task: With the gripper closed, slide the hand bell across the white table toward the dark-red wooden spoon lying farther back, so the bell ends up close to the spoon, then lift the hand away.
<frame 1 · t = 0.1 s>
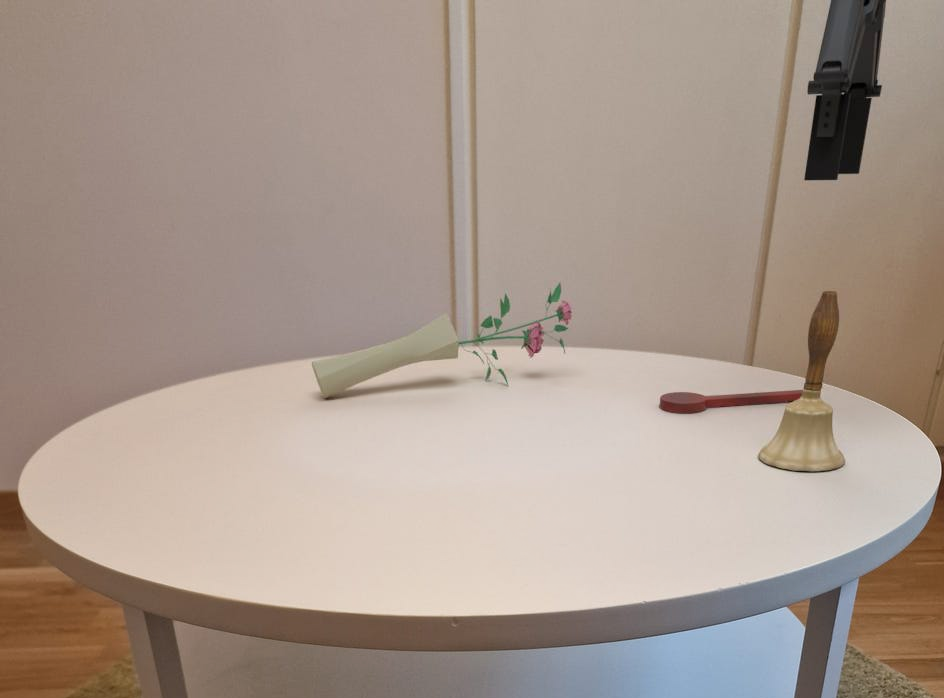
hand: (833, 177, 84), 25 cm above the table, tool pointing down, fingers open, 13 cm apart
hand bell: (800, 461, 89), on the table
flower vase: (444, 388, 121), on the table
spoon: (733, 404, 109), on the table
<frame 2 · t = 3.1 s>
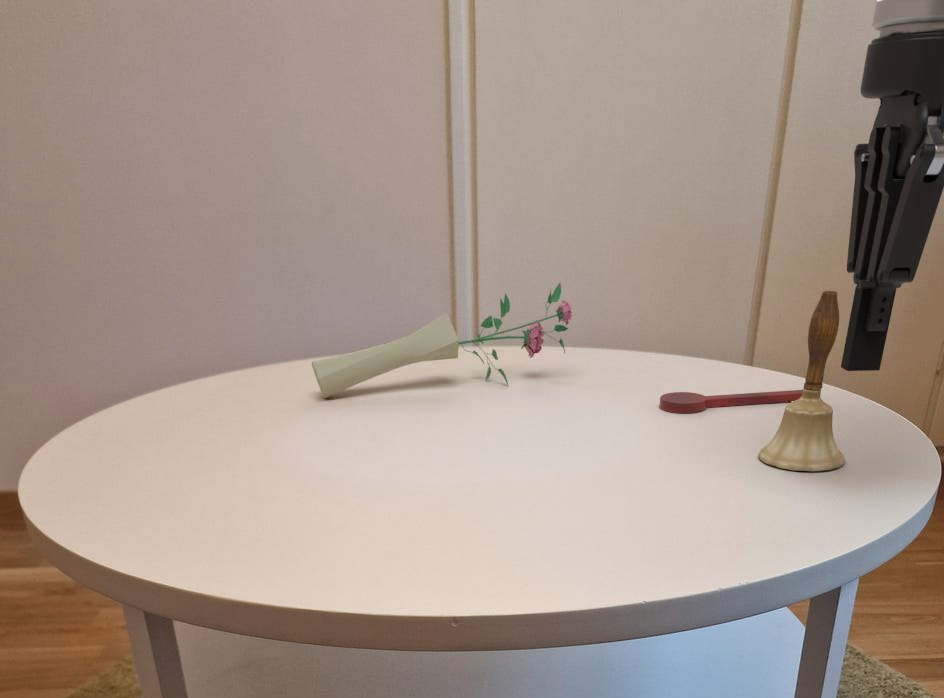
hand: (859, 368, 75), 11 cm above the table, tool pointing down, fingers closed
nothing on the table moved.
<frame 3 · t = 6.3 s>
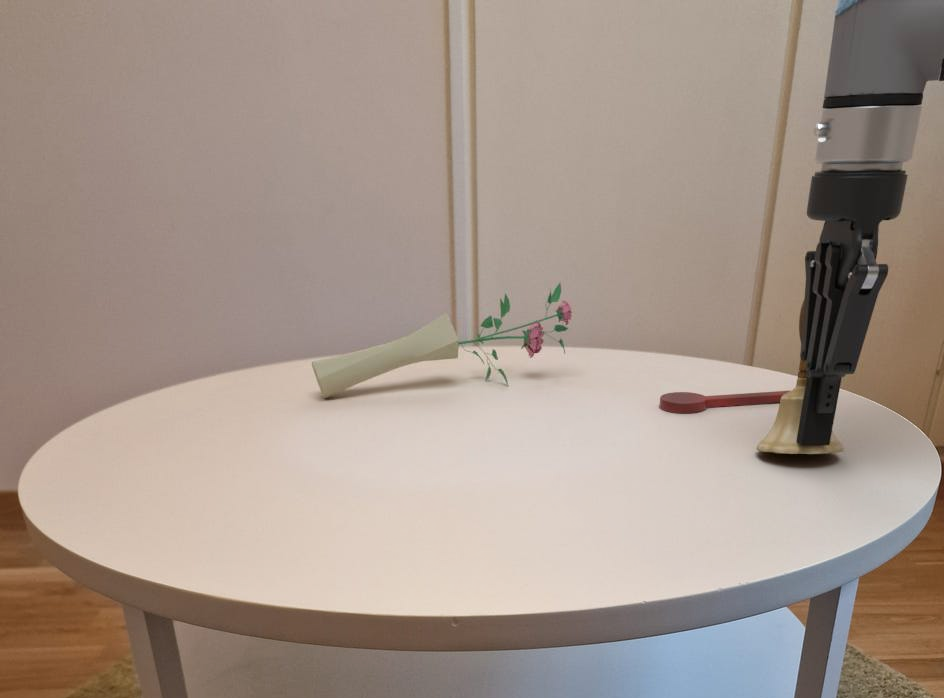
hand: (812, 443, 85), 3 cm above the table, tool pointing down, fingers closed
hand bell: (798, 452, 90), point 1 cm above the table, touching gripper, hand
everything else where it was.
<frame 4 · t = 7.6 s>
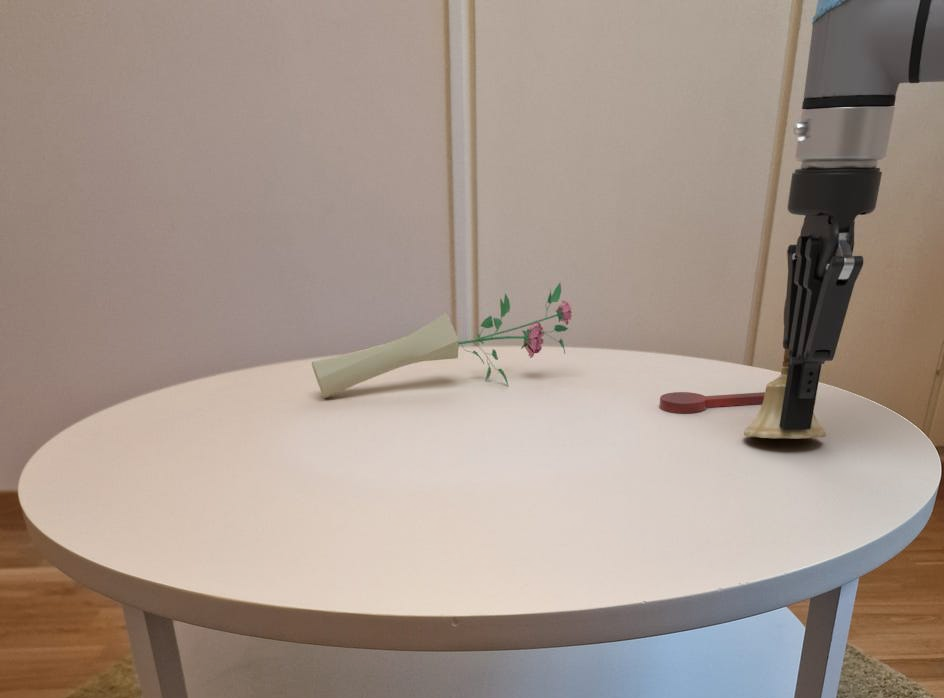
hand: (794, 427, 90), 3 cm above the table, tool pointing down, fingers closed
hand bell: (783, 437, 94), point 1 cm above the table, touching gripper, hand
everything else where it was.
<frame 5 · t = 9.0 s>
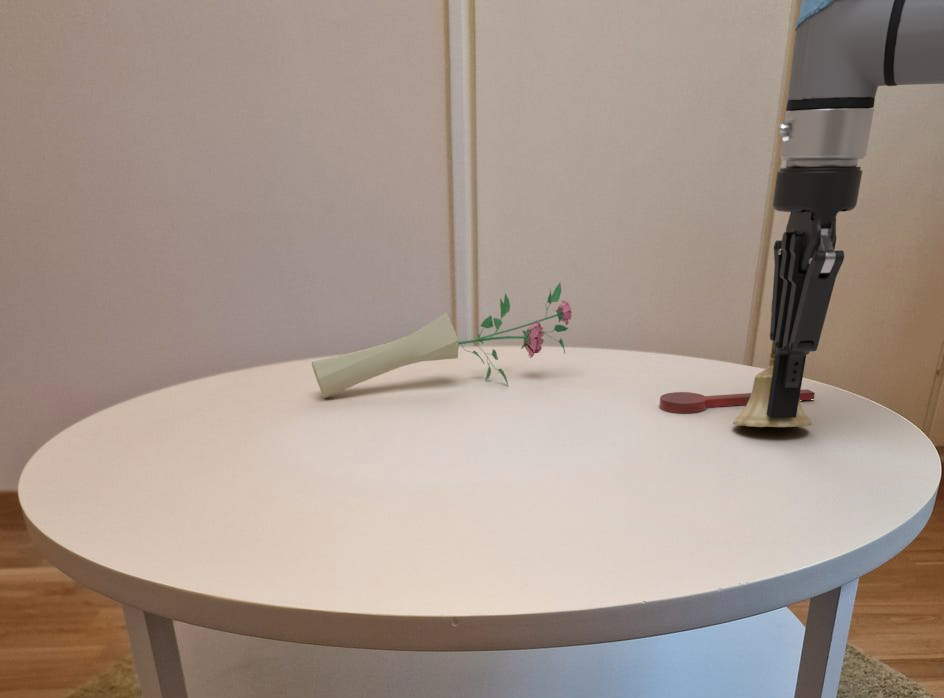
hand: (781, 415, 94), 3 cm above the table, tool pointing down, fingers closed
hand bell: (771, 426, 98), point 1 cm above the table, touching gripper, hand
everything else where it was.
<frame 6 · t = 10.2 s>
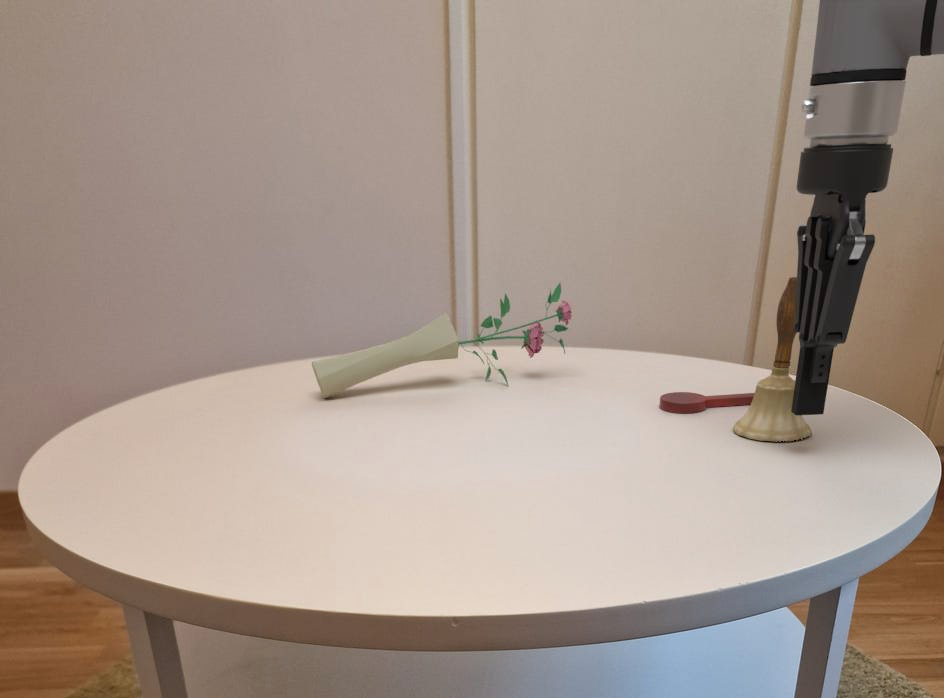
hand: (807, 412, 88), 4 cm above the table, tool pointing down, fingers closed
hand bell: (771, 433, 98), on the table
everything else where it was.
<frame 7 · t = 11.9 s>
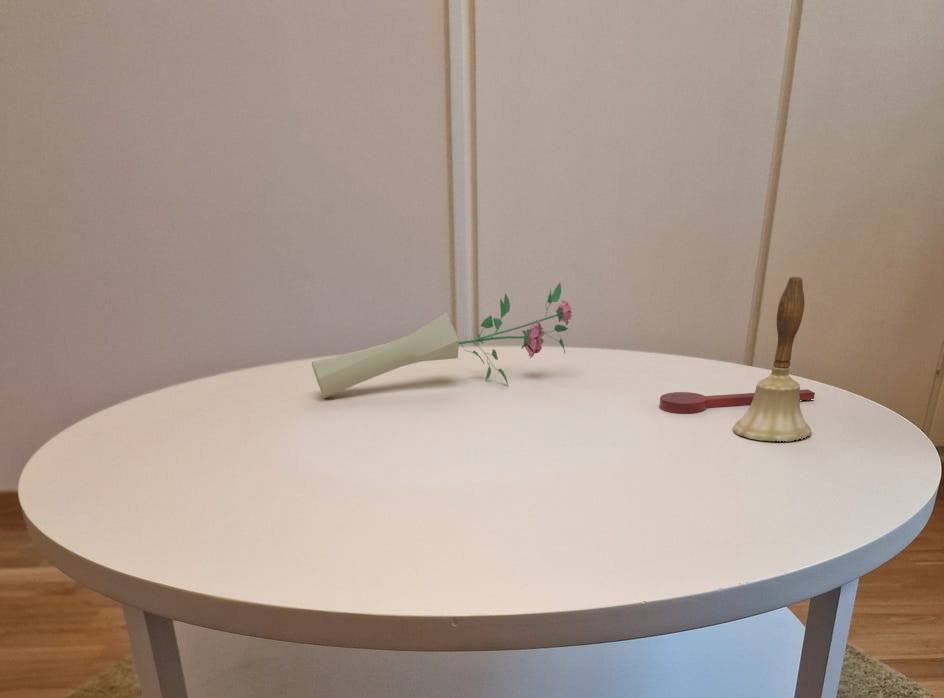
nothing on the table moved.
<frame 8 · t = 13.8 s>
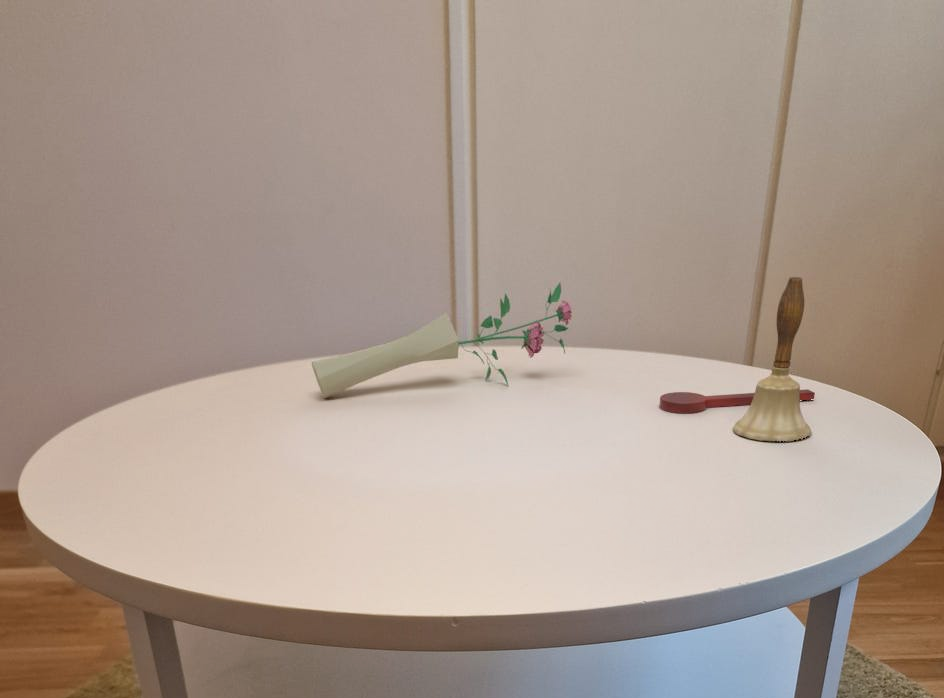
nothing on the table moved.
at the end: hand bell 12.2 cm from the spoon (horizontally); hand bell moved 9.8 cm from its start; hand bell tilted 0° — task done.
